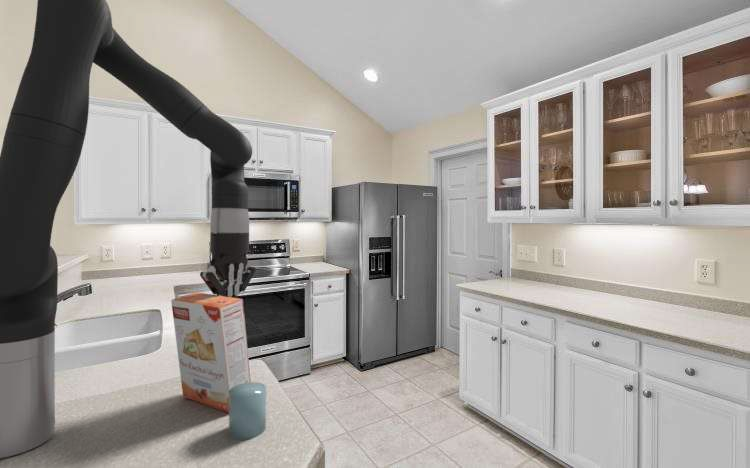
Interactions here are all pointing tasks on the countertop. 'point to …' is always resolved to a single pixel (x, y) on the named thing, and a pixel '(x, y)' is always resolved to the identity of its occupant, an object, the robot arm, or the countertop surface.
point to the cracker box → (211, 347)
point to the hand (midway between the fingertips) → (229, 313)
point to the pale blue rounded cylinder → (247, 410)
